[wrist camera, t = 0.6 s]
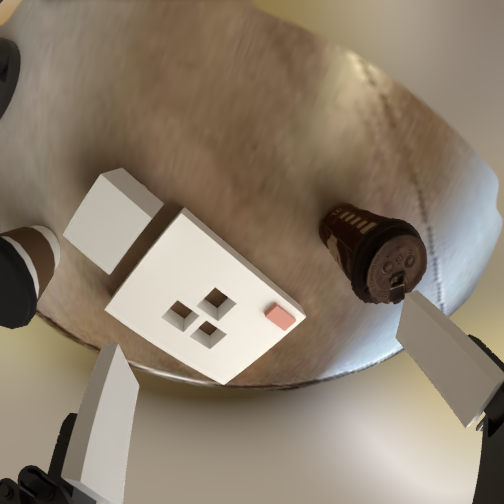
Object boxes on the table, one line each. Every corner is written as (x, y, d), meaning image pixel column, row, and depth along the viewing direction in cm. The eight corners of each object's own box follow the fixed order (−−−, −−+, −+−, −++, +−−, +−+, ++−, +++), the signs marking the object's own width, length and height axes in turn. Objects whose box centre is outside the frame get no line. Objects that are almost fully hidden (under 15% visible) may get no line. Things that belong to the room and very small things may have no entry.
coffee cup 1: (17, 200, 27) (-40, 227, 16) (79, 218, 29) (27, 255, 18) (16, 271, 30) (-28, 313, 19) (74, 293, 33) (36, 346, 22)
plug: (132, 242, 32) (109, 275, 23) (96, 211, 29) (62, 234, 21) (168, 198, 30) (152, 218, 22) (129, 165, 28) (100, 173, 20)
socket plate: (222, 371, 41) (224, 388, 37) (111, 297, 34) (102, 313, 30) (299, 304, 38) (308, 320, 34) (184, 206, 31) (180, 214, 27)
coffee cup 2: (346, 269, 37) (397, 323, 25) (297, 244, 34) (340, 297, 22) (379, 215, 35) (444, 250, 23) (333, 182, 32) (396, 207, 20)
